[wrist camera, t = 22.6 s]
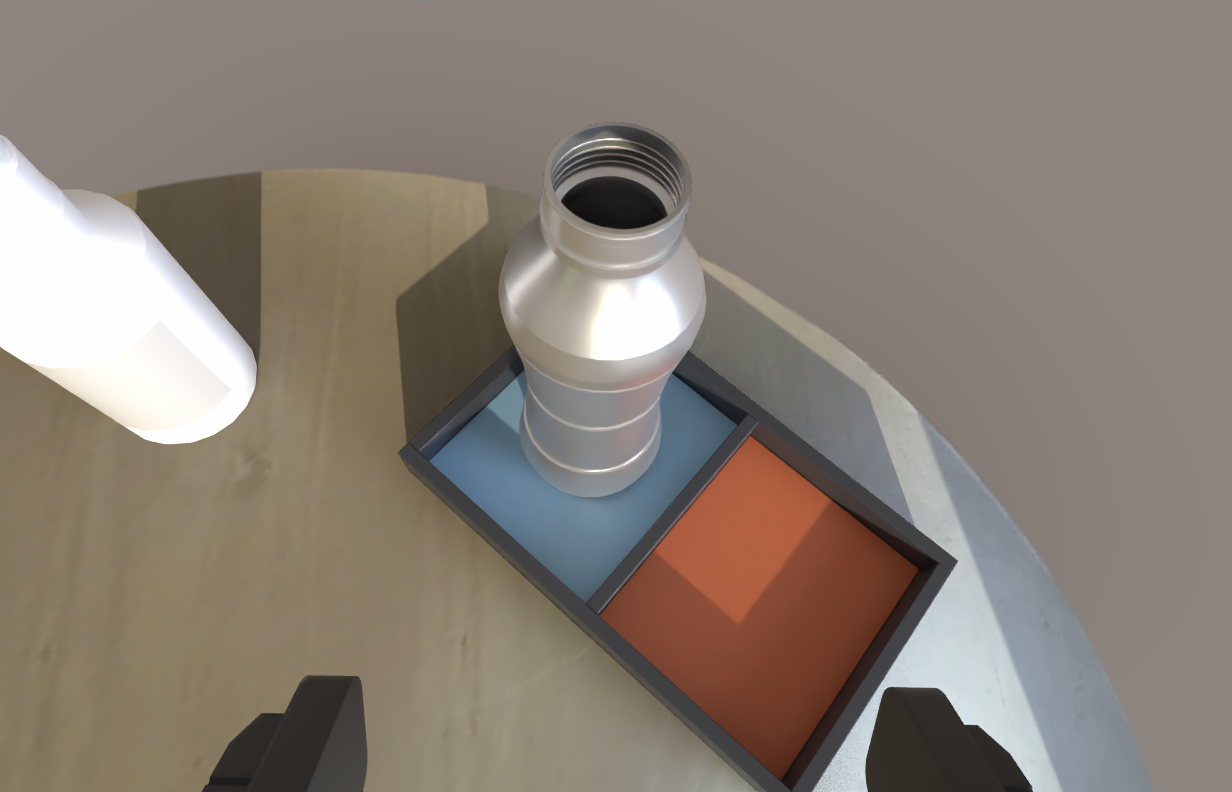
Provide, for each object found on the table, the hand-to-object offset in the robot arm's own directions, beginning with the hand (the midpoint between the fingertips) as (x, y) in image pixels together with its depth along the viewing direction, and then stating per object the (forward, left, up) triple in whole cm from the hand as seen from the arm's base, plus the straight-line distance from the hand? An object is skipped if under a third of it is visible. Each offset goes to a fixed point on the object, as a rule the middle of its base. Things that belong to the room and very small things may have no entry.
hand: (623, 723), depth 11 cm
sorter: (+2, -9, -23) cm, 25 cm away
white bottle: (+25, +2, -23) cm, 34 cm away
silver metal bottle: (+8, -9, -22) cm, 25 cm away
